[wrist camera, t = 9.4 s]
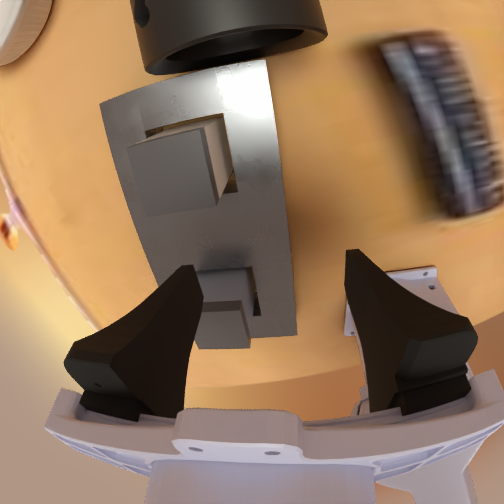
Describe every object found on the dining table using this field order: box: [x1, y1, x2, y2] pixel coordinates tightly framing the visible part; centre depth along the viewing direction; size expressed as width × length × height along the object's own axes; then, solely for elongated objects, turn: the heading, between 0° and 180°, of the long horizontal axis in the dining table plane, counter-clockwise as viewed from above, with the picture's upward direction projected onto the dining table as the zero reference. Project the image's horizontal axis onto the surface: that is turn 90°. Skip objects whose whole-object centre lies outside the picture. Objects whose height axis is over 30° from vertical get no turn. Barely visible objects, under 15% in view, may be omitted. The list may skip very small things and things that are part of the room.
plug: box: [126, 116, 233, 217], centre depth 16 cm, size 4×4×7 cm
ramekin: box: [0, 0, 52, 66], centre depth 9 cm, size 11×11×5 cm
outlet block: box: [99, 59, 297, 338], centre depth 21 cm, size 11×22×3 cm, turn 9°
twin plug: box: [194, 266, 255, 349], centre depth 22 cm, size 4×4×7 cm
